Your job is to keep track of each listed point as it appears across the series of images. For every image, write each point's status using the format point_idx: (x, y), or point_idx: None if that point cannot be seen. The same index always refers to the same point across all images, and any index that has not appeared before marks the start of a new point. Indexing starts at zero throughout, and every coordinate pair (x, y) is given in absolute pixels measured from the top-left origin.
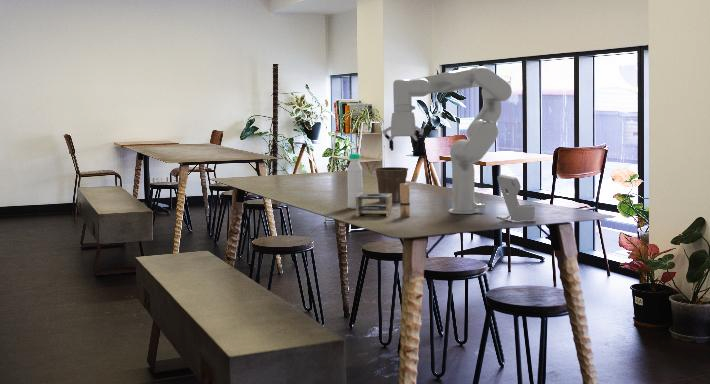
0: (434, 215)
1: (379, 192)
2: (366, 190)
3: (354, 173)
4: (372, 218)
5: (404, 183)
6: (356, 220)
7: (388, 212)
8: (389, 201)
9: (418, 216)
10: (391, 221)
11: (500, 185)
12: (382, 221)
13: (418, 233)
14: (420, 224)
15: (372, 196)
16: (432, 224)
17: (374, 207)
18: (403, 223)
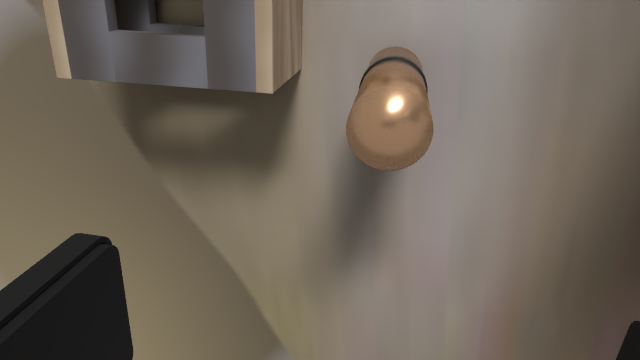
0: (585, 18)
1: None
2: None
3: None
4: (226, 129)
5: (387, 96)
6: (167, 189)
7: (295, 72)
8: (282, 27)
9: (475, 62)
10: (331, 229)
11: None
12: (289, 225)
13: None
14: (466, 318)
15: (160, 69)
16: (522, 323)
17: (198, 26)
18: (389, 286)
